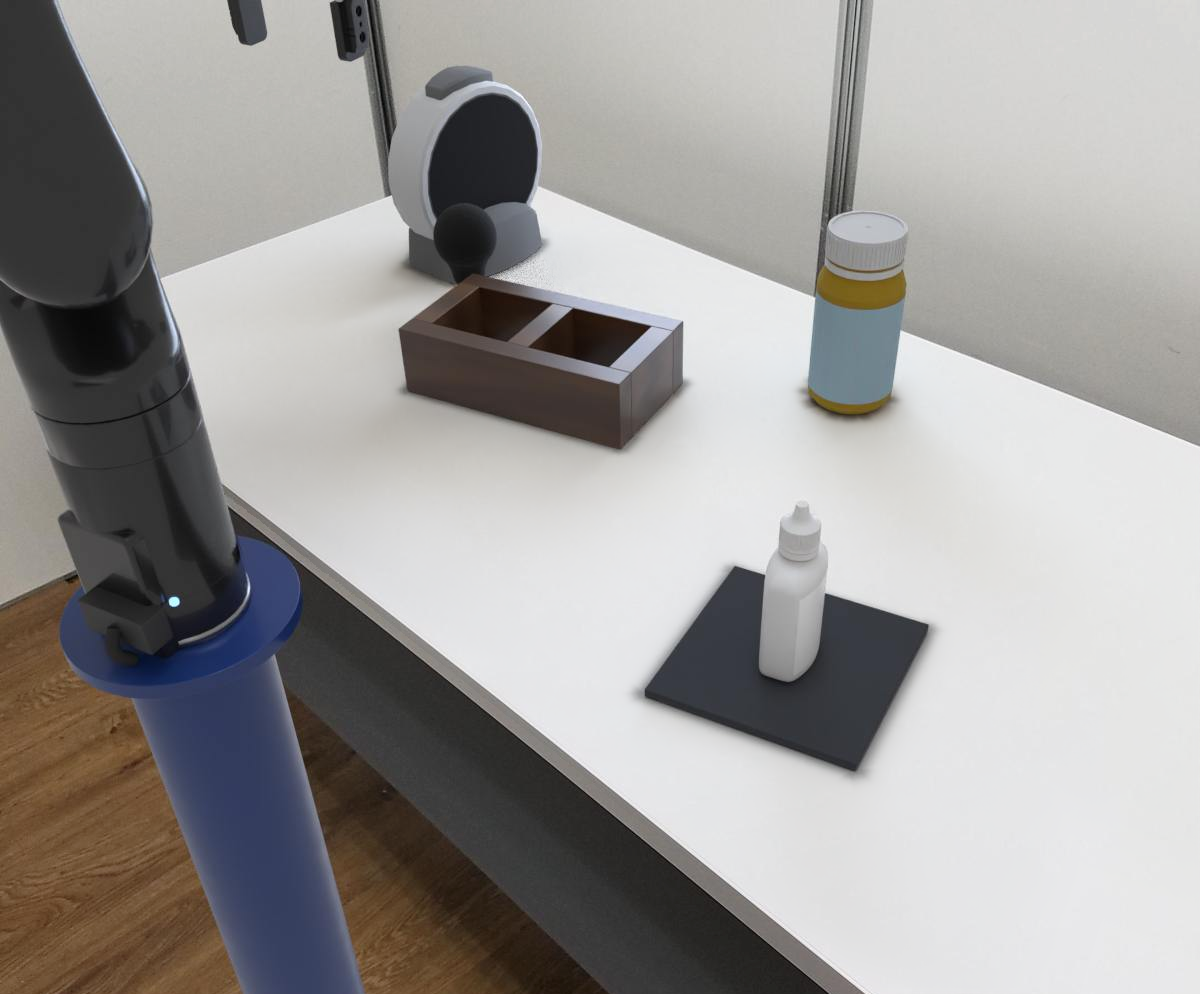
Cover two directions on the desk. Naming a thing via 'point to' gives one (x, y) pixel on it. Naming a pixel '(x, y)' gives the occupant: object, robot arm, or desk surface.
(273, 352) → the desk surface
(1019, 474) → the desk surface
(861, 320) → the bottle
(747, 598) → the mat
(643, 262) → the desk surface
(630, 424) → the holder
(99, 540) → the robot arm
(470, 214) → the light bulb
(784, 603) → the eye dropper bottle
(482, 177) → the alarm clock
